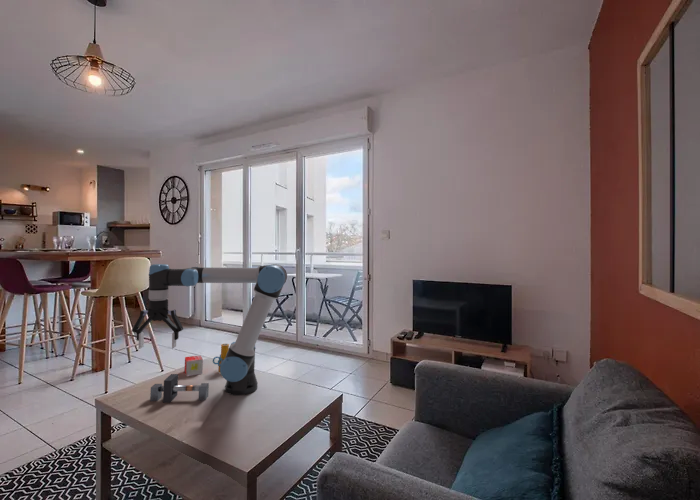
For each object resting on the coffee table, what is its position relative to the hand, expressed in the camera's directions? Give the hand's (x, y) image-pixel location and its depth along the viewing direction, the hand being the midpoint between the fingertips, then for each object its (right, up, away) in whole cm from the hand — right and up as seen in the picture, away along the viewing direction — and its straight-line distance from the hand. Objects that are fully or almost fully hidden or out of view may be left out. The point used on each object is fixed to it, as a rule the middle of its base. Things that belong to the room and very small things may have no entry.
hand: (157, 347), depth 145 cm
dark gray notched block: (+5, -23, +1) cm, 24 cm away
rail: (+9, -25, +1) cm, 26 cm away
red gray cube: (-1, -25, +35) cm, 43 cm away
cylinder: (+15, -25, +38) cm, 48 cm away
